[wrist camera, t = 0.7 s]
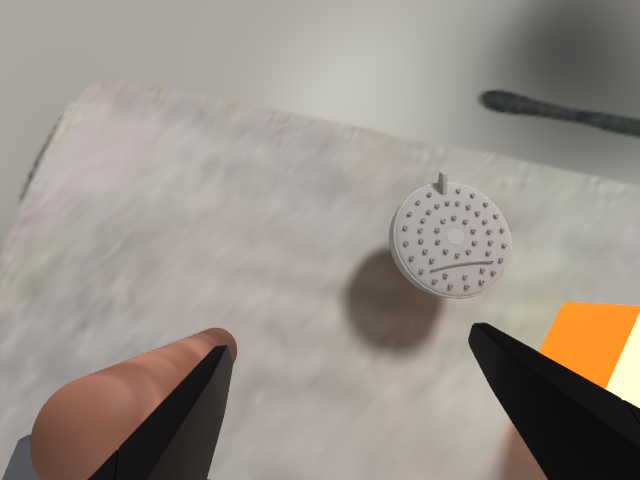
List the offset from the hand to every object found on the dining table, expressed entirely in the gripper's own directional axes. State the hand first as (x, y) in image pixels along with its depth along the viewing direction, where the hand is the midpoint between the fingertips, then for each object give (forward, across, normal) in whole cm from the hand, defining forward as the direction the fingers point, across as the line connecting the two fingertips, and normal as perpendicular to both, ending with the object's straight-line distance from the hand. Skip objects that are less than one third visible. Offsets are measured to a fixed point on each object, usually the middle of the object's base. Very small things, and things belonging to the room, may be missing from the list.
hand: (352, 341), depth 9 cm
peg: (+10, +11, +12) cm, 19 cm away
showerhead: (+16, -10, +5) cm, 19 cm away
